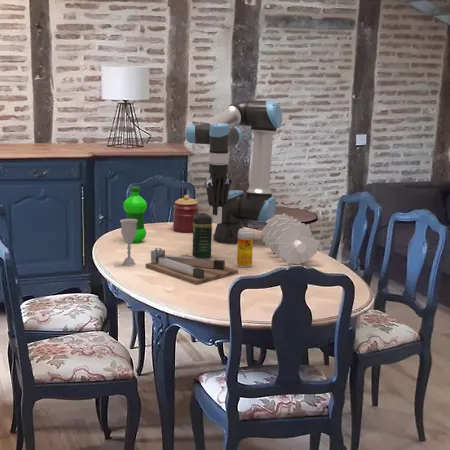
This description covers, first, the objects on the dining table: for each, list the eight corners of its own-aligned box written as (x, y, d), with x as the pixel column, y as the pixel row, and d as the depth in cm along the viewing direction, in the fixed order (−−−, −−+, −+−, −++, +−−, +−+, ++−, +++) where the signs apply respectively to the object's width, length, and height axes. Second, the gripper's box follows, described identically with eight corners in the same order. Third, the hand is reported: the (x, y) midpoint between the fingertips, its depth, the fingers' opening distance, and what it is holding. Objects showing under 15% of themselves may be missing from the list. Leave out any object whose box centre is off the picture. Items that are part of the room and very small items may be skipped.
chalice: (129, 267, 274) (129, 223, 270) (116, 264, 277) (116, 221, 273) (141, 263, 280) (141, 220, 276) (128, 260, 283) (128, 218, 279)
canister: (199, 233, 333) (199, 197, 329) (172, 233, 333) (172, 197, 329) (199, 227, 346) (200, 192, 342) (173, 227, 345) (173, 192, 342)
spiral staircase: (289, 276, 281) (268, 257, 304) (326, 256, 283) (302, 239, 306) (273, 238, 274) (253, 222, 297) (311, 218, 277) (288, 203, 300)
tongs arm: (165, 263, 274) (165, 256, 273) (166, 262, 276) (166, 254, 275) (223, 269, 268) (223, 261, 268) (224, 267, 270) (224, 260, 270)
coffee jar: (212, 259, 288) (213, 216, 284) (193, 260, 286) (194, 216, 282) (209, 253, 297) (210, 211, 293) (191, 254, 296) (191, 211, 292)
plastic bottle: (147, 244, 311) (147, 189, 305) (123, 244, 309) (123, 189, 304) (146, 238, 321) (146, 185, 315) (123, 239, 319) (123, 185, 313)
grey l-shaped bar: (151, 263, 275) (151, 248, 274) (160, 260, 279) (160, 247, 277) (199, 279, 256) (200, 264, 255) (209, 276, 259) (209, 261, 258)
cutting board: (186, 257, 290) (186, 254, 289) (238, 273, 269) (238, 269, 269) (145, 267, 274) (145, 263, 274) (196, 284, 254) (196, 280, 253)
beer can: (241, 268, 276) (242, 232, 273) (234, 264, 281) (235, 228, 278) (254, 266, 279) (255, 230, 276) (247, 262, 284) (248, 227, 281)
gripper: (224, 161, 275) (222, 219, 280) (199, 163, 265) (198, 223, 270) (237, 163, 269) (236, 222, 275) (213, 166, 260) (211, 226, 265)
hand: (217, 222), depth 273 cm, fingers closed
